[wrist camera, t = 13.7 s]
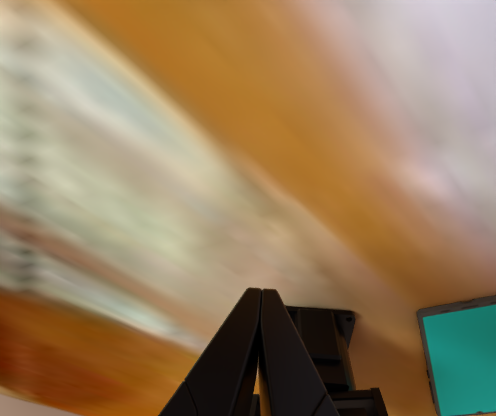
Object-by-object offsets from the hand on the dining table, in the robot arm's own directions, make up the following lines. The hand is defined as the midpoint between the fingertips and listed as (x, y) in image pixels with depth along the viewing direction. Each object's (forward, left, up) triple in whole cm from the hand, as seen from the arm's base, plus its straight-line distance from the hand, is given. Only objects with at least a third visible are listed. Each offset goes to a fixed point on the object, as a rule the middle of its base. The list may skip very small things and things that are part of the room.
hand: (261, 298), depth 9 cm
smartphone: (-18, -18, -13) cm, 28 cm away
